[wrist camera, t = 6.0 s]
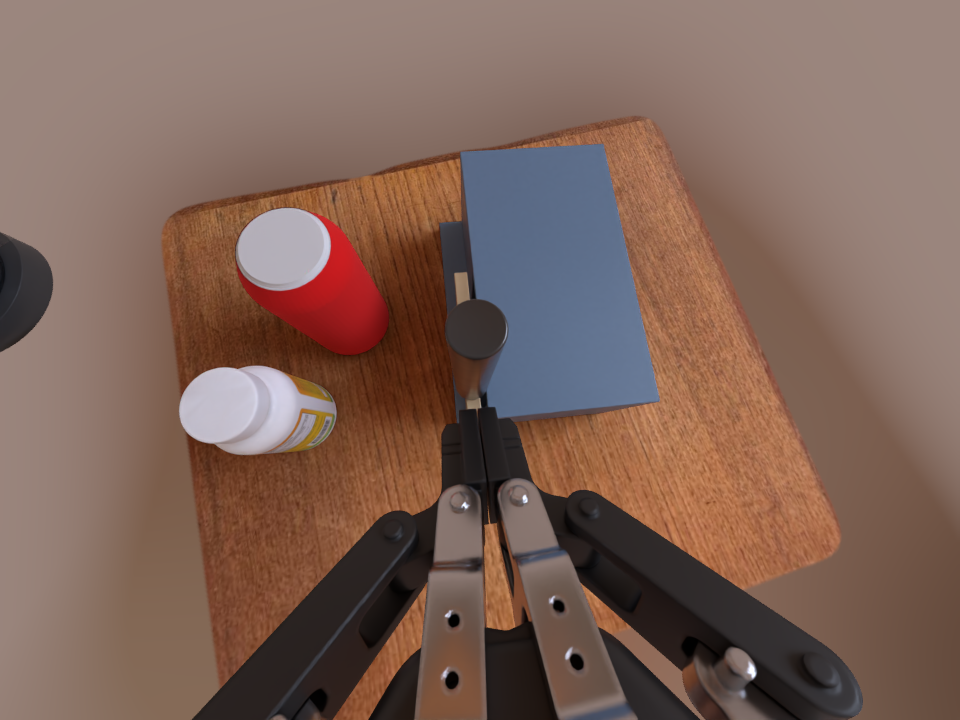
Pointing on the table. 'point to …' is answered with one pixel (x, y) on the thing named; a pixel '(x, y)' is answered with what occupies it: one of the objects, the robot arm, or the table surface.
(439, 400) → the table surface
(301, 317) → the beverage can
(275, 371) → the supplement bottle
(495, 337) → the brown flat handled piece
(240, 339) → the table surface
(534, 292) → the cabinet
